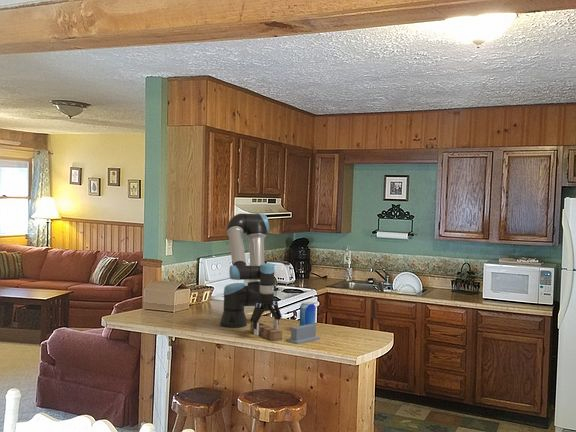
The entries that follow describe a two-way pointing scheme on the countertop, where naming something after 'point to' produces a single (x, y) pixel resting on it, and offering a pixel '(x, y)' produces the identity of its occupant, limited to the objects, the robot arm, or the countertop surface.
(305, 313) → the beer can
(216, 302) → the countertop surface
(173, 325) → the countertop surface
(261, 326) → the walnut bar
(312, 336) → the fulcrum block
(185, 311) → the countertop surface
